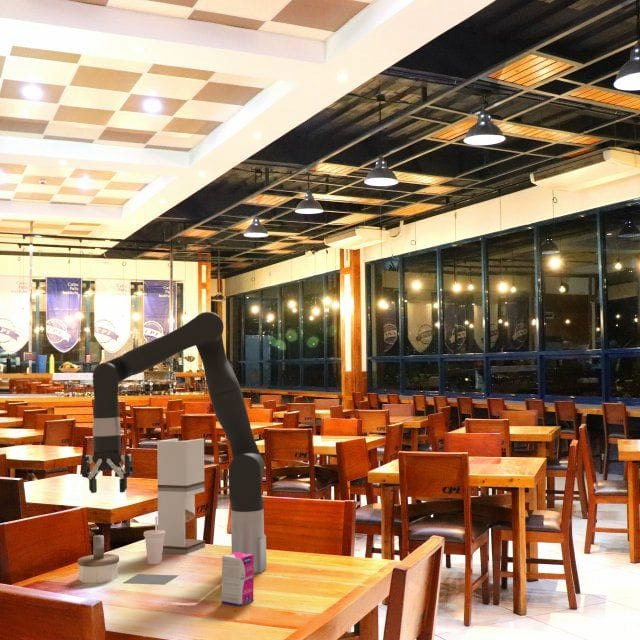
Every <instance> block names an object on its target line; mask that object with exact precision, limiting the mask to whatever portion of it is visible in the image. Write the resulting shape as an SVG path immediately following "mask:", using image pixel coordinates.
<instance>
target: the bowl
mask: <svg viewBox="0 0 640 640" xmlns="http://www.w3.org/2000/svg"><path fill="white" fill-rule="evenodd" d="M118 565H119V562H117V563H115V564H111V565H106V566H97V567H86V566H80V565H78V580H79V581H80V582H82V583H83V584H99V583H105V582H106V583H107V582H112V581H115V579H118V577H119V575H118V574H119V571H118V569H119V568H118V567H119V566H118Z"/></svg>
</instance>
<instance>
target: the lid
mask: <svg viewBox="0 0 640 640" xmlns="http://www.w3.org/2000/svg"><path fill="white" fill-rule="evenodd" d="M104 538H105V537H104V535H101V534H98V535H93V538H92V539H93V541H92V543H93V544H92V545H93V547H92V548H93V551H92V552H93V554H90V555H85V556H82V557H79V558H78V559H77V565H78V566H79V565H80V566H86V567H97V566H106V565H111V564H115V563H117V562H118V563H119V561H120V555H117V554H111V553H105V546H104V545H105V539H104Z"/></svg>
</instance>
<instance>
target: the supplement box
mask: <svg viewBox="0 0 640 640" xmlns="http://www.w3.org/2000/svg"><path fill="white" fill-rule="evenodd" d="M221 557H222V559H221V562H222V563H221V605H222V604H223V605H228V606H229V605H230V606H234V607H241V606H243V605H246V604H248V603H252V602H254V591H255V589H254V588H255V587H254V583H255V582H254V580H255V578H254V575H255V573H254V555H252V554H245V553H239V552H235V553H232V552H231V553H228V554H224V555H222V556H221Z"/></svg>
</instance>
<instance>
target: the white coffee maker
mask: <svg viewBox="0 0 640 640" xmlns="http://www.w3.org/2000/svg"><path fill="white" fill-rule="evenodd" d="M156 442H157V443H156V444H157V450H156V451H157V452H156V453H157V454H156V455H157V456H156V457H157V460H156V461H157V462H156V463H157V530H164V531H165V535H164V543H163V552H162V553H166V552H169V553H171V554H181V555H182V554H183V555H188V554H190V552H191V553H193V552H195V551H197V550H200V549H203V548H205V547H206V540H204V539H193V538H191V539H189V538H186V523H188V522H190V521H191V520H193V519H194V518H195V516H196V510H195V509H196V508H195V507H196V503H195V501H196V497H195V495H197V494H200V493H204V492H205V491H206V490H205V438H197V439H190V440H179V437H178V438H170V439H161V440H157V441H156Z"/></svg>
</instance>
